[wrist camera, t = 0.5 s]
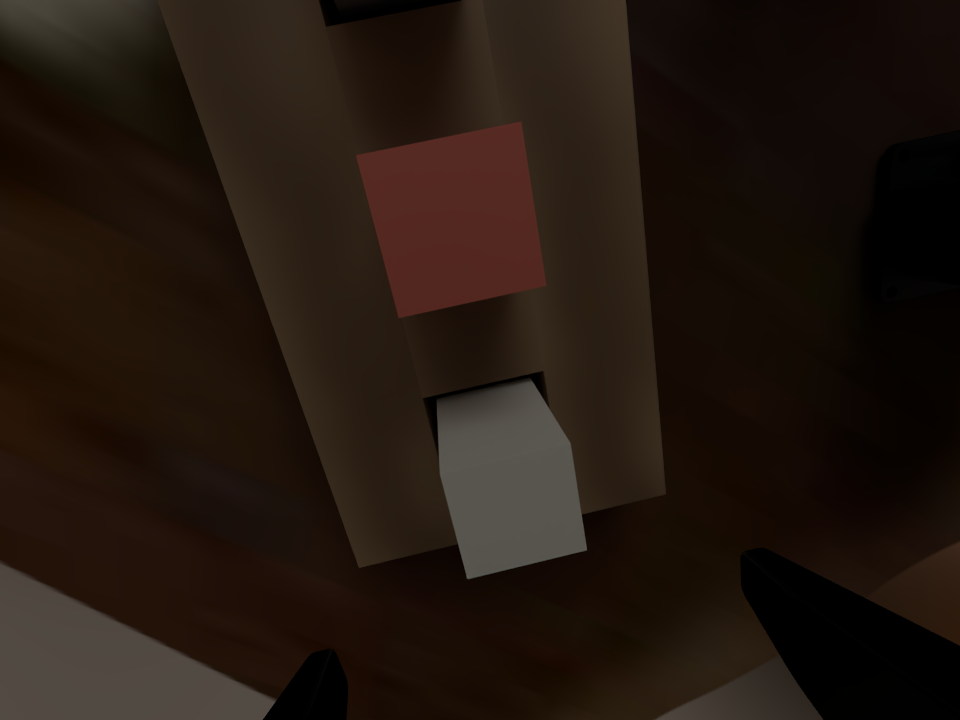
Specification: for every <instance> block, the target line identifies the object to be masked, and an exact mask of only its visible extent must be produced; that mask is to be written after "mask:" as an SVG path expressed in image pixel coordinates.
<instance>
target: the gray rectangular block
mask: <svg viewBox="0 0 960 720" xmlns="http://www.w3.org/2000/svg"><path fill="white" fill-rule="evenodd" d="M421 1H426V0H334V2H335V4H336V7H337V9H338V11H339V13H340V16H341V17H343V16H349V15H354V14H359V13H364V12H369V11H374V10H380V9H385V8H390V7H395V6H400V5H406V4H411V3H416V2H421Z"/></svg>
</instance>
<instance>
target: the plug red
mask: <svg viewBox="0 0 960 720" xmlns="http://www.w3.org/2000/svg"><path fill="white" fill-rule="evenodd" d="M356 158H357V161H358V165H359V169H360V173H361V177H362V180H363V184H364V188H365V192H366V196H367V199H368V203H369V207H370V211H371V215H372V218H373V222H374V226H375V230H376V234H377V237H378V241H379V245H380V249H381V253H382V256H383V260H384V264H385V268H386V272H387V275H388V279H389V283H390V287H391V291H392V294H393V298H394V302H395V306H396V310H397V313H398V317H399V318H402V317H406V316H411V315H415V314H420V313H425V312H429V311H434V310H438V309H443V308H447V307H452V306H456V305H461V304H466V303H470V302H475V301H479V300H484V299H488V298H493V297H497V296H502V295H507V294H511V293H516V292H520V291H525V290H529V289H534V288H538V287H543V286H546V279H545V273H544V266H543V260H542V253H541V247H540V240H539V234H538V227H537V221H536V214H535V208H534V201H533V195H532V188H531V181H530V175H529V168H528V162H527V155H526V149H525V142H524V136H523V129H522V123H521V122H516V123H511V124H506V125H501V126H497V127H492V128H487V129H482V130H477V131H472V132H467V133H462V134H458V135H453V136H448V137H443V138H438V139H433V140H428V141H423V142H418V143H414V144H409V145H404V146H399V147H394V148H389V149H384V150H379V151H375V152H370V153H365V154H360V155H356Z"/></svg>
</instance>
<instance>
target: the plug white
mask: <svg viewBox="0 0 960 720" xmlns="http://www.w3.org/2000/svg"><path fill="white" fill-rule="evenodd" d="M437 420H438V443H439V467H440V477H441V481H442V484H443V488H444V492H445V496H446V500H447V503H448V507H449V511H450V515H451V519H452V522H453V526H454V530H455V534H456V538H457V541H458V545H459V549H460V553H461V557H462V560H463V564H464V568H465V572H466V576H467V579H470V578H475V577H479V576H483V575H487V574H491V573H495V572H499V571H503V570H507V569H512V568H516V567H520V566H524V565H528V564H532V563H536V562H540V561H544V560H549V559H553V558H557V557H561V556H565V555H569V554H573V553H577V552H582V551H586V550H587V547H586V540H585V534H584V527H583V521H582V514H581V508H580V501H579V495H578V488H577V482H576V475H575V469H574V462H573V456H572V449H571V443H570V442H569V440H568V438H567V437H566V435H565V434H564V432H563V430H562V429H561V427H560V425H559V424H558V422H557V421H556V419H555V417H554V416H553V414H552V412H551V411H550V409H549V408H548V406H547V404H546V403H545V401H544V399H543V398H542V396H541V395H540V393H539V391H538V390H537V388H536V386H535V385H534V383H533V382H532V380H531V378H530V377H528V378H524V379H520V380H515V381H511V382H506V383H502V384H498V385H493V386H489V387H484V388H480V389H476V390H471V391H467V392H462V393H458V394H454V395H449V396H445V397H440V398H437Z"/></svg>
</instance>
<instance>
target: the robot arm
mask: <svg viewBox="0 0 960 720" xmlns="http://www.w3.org/2000/svg"><path fill="white" fill-rule="evenodd" d="M899 153H900V159H899V161H898V155H899ZM959 287H960V130H958V131H954V132H949V133H944V134H940V135H935V136H930V137H926V138H921V139H916V140H912V141H907V142H902V143H898V144H894V145H892V146H890V147H889V148H888V149H887V150H886V152H885V154H884V156H883V162H882V175H881V188H880V201H879V214H878V228H877V241H876V254H875V267H874V280H873V298H874V299H875V300H876V301H878V302H883V303H893V302H898V301H902V300H907V299H911V298H915V297H920V296H924V295H929V294H933V293H937V292H942V291H946V290H951V289H955V288H959ZM888 289H889V290H888ZM887 290H888V293H887V294H886V292H887ZM740 561H741V586H742V590H743V593H744V595H745V597H746V599H747V601H748V602H749V604H750V606H751V607H752V609H753V611H754V612H755V614H756V616H757V617H758V619H759V621H760V622H761V624H762V626H763V627H764V629H765V631H766V632H767V634H768V636H769V638H770V639H771V641H772V643H773V644H774V646H775V648H776V649H777V651H778V653H779V654H780V656H781V658H782V659H783V661H784V663H785V664H786V666H787V668H788V669H789V671H790V672H791V674H792V676H793V677H794V679H795V680H796V682H797V683H798V685H799V686H800V688H801V689H802V691H803V692H804V693H805V695H806V696H807V698H808V699H809V700H810V702H811V703H812V704H813V706H814V707H815V708H816V710H817V711H818V713H819V714H820V715H821V717H822V718H823V720H960V646H959V645H957V644H955V643H953V642H951V641H949V640H947V639H945V638H943V637H941V636H939V635H937V634H935V633H933V632H931V631H929V630H927V629H925V628H923V627H921V626H919V625H917V624H915V623H913V622H911V621H909V620H907V619H905V618H903V617H901V616H899V615H897V614H895V613H893V612H891V611H889V610H887V609H885V608H883V607H882V606H879V605H877V604H875V603H874V602H871V601H870V600H868V599H866V598H864V597H862V596H860V595H858V594H856V593H854V592H852V591H850V590H848V589H846V588H844V587H842V586H840V585H838V584H836V583H834V582H832V581H830V580H828V579H826V578H824V577H822V576H820V575H818V574H816V573H814V572H812V571H810V570H808V569H806V568H804V567H802V566H800V565H798V564H796V563H794V562H792V561H790V560H788V559H786V558H784V557H782V556H780V555H778V554H776V553H774V552H772V551H770V550H768V549H765V548H756V549H752V550H748V551H744V552H742V554H741V558H740ZM347 701H348V683H347V678H346V676H345V673H344V671H343V668H342V666H341V664H340V661H339V659H338V656H337V654H336V652H335V651H334V650H333V649H326V650H322V651H317V652H314V653H312V654H311V655H310V656H309V657H308V658H307V659H306V660H305V662H304V663H303V665H302V666H301V667H300V669H299V670H298V672H297V673H296V674H295V676H294V677H293V678H292V680H291V681H290V683H289V684H288V685H287V687H286V688H285V690H284V691H283V692H282V694H281V695H280V697H279V698H278V699H277V701H276V702H275V704H274V705H273V706H272V708H271V709H270V710H269V712H268V713H267V715H266V716H265V718H264V719H263V720H346V717H347Z"/></svg>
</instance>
